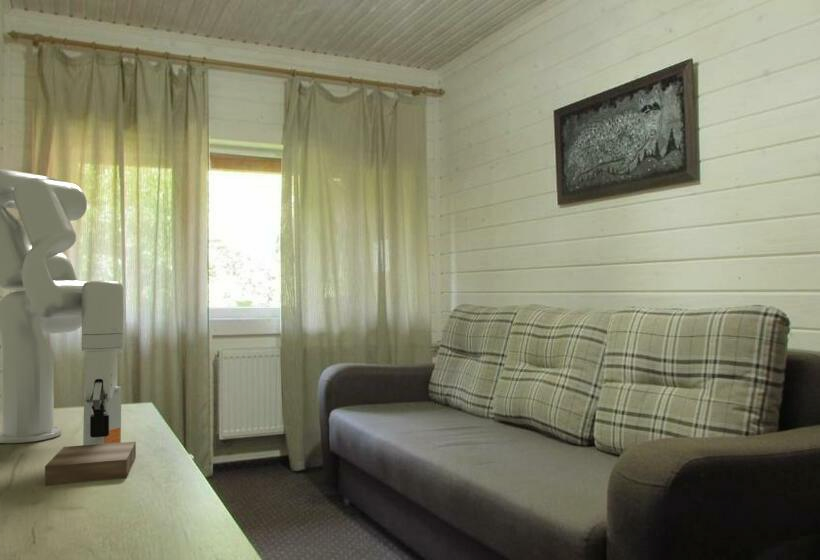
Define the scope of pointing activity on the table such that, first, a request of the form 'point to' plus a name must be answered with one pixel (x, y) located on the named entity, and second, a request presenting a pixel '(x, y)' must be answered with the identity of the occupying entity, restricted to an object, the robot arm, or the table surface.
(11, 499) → the table surface
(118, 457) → the block
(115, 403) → the skincare box
